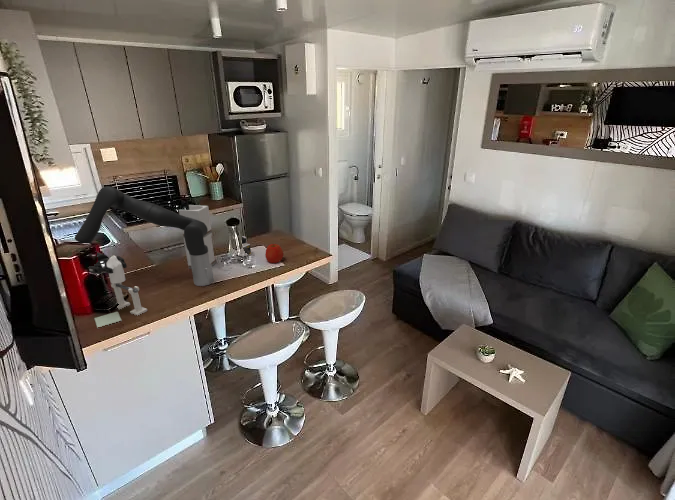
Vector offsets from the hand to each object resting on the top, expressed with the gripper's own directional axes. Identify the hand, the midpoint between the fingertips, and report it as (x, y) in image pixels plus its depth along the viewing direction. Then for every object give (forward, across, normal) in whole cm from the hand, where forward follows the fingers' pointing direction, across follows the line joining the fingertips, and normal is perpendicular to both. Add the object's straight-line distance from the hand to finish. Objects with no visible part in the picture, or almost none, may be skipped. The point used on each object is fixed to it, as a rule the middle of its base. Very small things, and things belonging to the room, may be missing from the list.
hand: (118, 268), depth 155 cm
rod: (-2, +2, +11) cm, 12 cm away
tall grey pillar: (-9, +52, +22) cm, 57 cm away
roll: (-3, 0, +7) cm, 7 cm away
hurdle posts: (-2, +2, +22) cm, 22 cm away
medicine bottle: (+2, +75, +22) cm, 78 cm away
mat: (-1, -9, +22) cm, 24 cm away
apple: (+25, +77, +22) cm, 84 cm away
